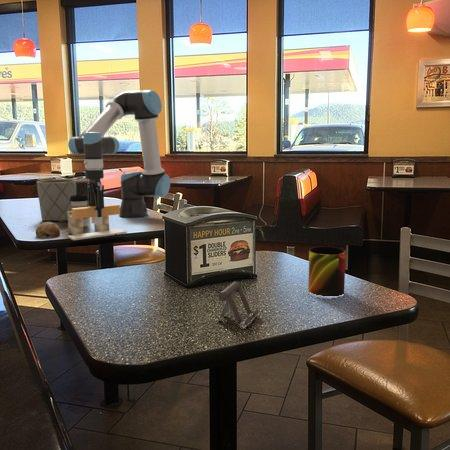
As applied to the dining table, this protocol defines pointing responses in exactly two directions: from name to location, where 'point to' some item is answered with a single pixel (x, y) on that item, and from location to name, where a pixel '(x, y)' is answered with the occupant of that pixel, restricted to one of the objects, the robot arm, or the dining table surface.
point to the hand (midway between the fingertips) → (97, 223)
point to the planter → (55, 198)
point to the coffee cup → (79, 204)
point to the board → (96, 234)
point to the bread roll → (47, 230)
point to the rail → (90, 211)
